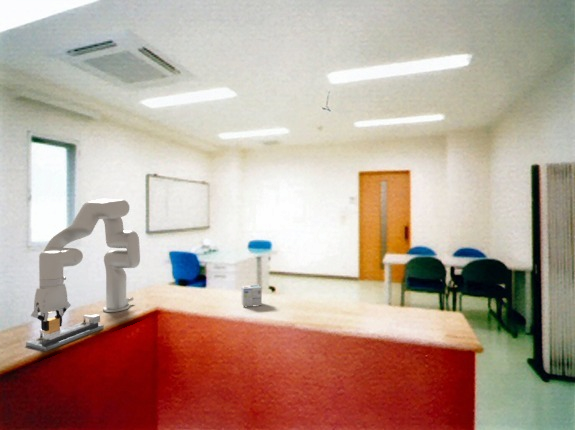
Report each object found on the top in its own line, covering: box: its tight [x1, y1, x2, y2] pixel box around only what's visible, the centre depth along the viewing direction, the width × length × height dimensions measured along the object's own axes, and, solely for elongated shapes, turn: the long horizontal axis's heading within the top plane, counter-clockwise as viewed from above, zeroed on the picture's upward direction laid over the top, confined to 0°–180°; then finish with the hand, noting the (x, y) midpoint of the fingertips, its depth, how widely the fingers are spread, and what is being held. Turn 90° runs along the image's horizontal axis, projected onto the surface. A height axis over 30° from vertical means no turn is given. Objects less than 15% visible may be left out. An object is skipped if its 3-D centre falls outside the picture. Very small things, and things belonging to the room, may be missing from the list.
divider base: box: [25, 314, 104, 352], centre depth 131 cm, size 24×12×6 cm, turn 159°
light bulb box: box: [241, 284, 263, 307], centre depth 176 cm, size 11×7×11 cm, turn 108°
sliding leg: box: [39, 316, 61, 340], centre depth 123 cm, size 4×9×8 cm, turn 69°
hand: (51, 327), depth 123 cm, fingers closed on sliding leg, 4 cm apart
